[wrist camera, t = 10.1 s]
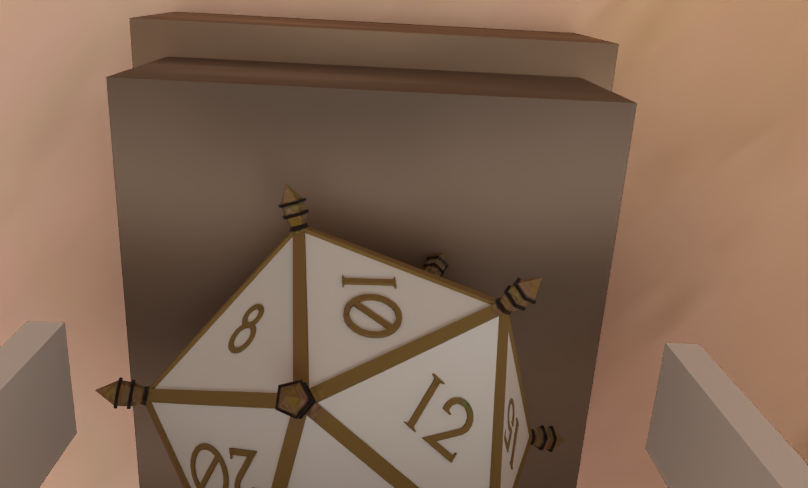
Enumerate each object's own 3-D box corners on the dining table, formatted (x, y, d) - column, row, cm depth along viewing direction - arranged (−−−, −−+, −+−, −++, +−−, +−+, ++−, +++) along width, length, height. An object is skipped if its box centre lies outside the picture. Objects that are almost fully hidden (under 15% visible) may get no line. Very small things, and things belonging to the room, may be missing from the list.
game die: (338, 332, 23) (137, 659, 16) (238, 100, 17) (-117, 458, 11) (631, 394, 19) (509, 852, 13) (621, 117, 13) (398, 686, 7)
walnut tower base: (531, 379, 31) (599, 555, 21) (193, 369, 30) (108, 546, 21) (575, 33, 26) (687, 61, 17) (175, 11, 25) (55, 28, 16)
